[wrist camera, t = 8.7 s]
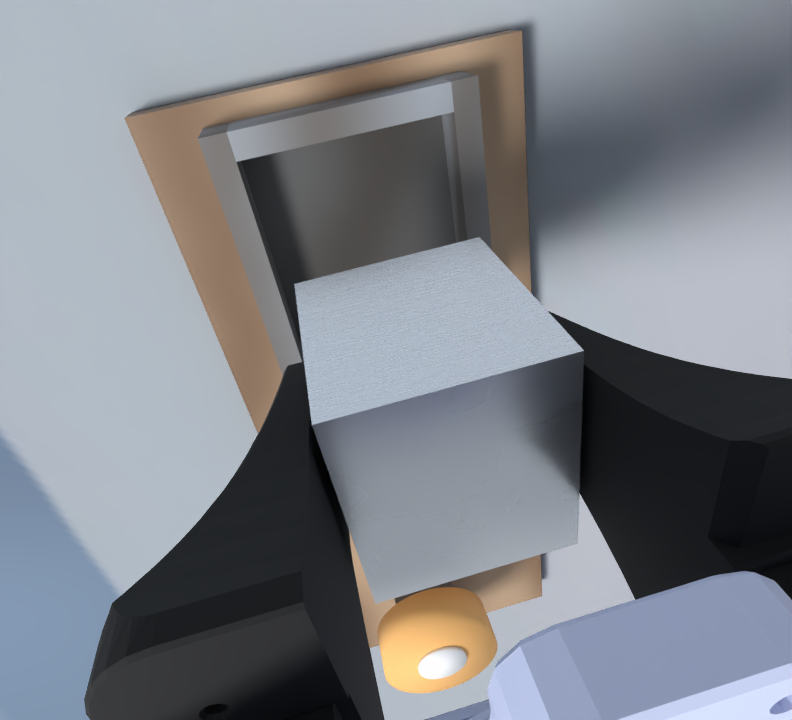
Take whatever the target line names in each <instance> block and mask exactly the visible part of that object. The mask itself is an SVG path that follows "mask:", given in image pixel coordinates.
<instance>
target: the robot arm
mask: <svg viewBox="0 0 792 720" xmlns="http://www.w3.org/2000/svg"><path fill="white" fill-rule="evenodd" d="M548 312H549V311H548ZM549 313H550V314H551V315H552V316H553V317H554V319H555V320H556V321H557V322H558V323H559V324H560V325H561V326H562V327H563V328H564V329H565V331H566V332H567V333H568V334H569V335H570V336H571V337H572V338H573V339H574V340H575V341H576V342H577V344H578V345H579V346H580V347H581V348H582V349H583V350H584V368H583V398H582V428H581V459H580V489H579V493H580V494H581V496H582V498H583V500H584V501H585V503H586V505H587V507H588V509H589V511H590V512H591V514H592V516H593V518H594V520H595V522H596V523H597V525H598V527H599V529H600V531H601V533H602V534H603V536H604V538H605V540H606V542H607V544H608V546H609V548H610V550H611V552H612V554H613V556H614V558H615V559H616V561H617V563H618V565H619V567H620V569H621V571H622V573H623V575H624V577H625V579H626V581H627V583H628V585H629V587H630V589H631V591H632V594H633V596H634V598H635V600H633V601H630V602H627V603H624V604H620V605H617V606H614V607H611V608H607V609H604V610H601V611H598V612H595V613H591V614H588V615H585V616H582V617H578V618H575V619H572V620H569V621H566V622H562V623H559V624H556V625H553V626H551V627H549V628H547V629H545V630H542V631H540V632H538V633H536V634H534V635H532V636H530V637H527V638H525V639H523V640H521V641H520V642H519V643H518V644H517V645H515V646H514V647H513V648H512V649H511V650H510V651H509V652H508V653H507V654H505V655H504V656H503V657H502V658H501V659H500V660H499V661H498V662H497V664H496V666H495V668H494V671H493V674H492V677H491V681H490V684H489V687H488V690H487V691H488V697H489V699H488V700H485V701H482V702H479V703H476V704H473V705H470V706H466V707H463V708H460V709H457V710H454V711H451V712H448V713H444V714H441V715H438V716H435V717H432V718H429V719H426V720H792V379H787V378H779V377H771V376H763V375H755V374H749V373H742V372H736V371H730V370H725V369H720V368H715V367H710V366H705V365H700V364H695V363H691V362H687V361H683V360H679V359H675V358H672V357H668V356H664V355H661V354H657V353H653V352H650V351H647V350H644V349H641V348H638V347H635V346H632V345H629V344H626V343H624V342H621V341H618V340H615V339H612V338H610V337H607V336H605V335H602V334H600V333H597V332H595V331H592V330H590V329H588V328H585V327H583V326H581V325H578V324H576V323H574V322H571V321H569V320H567V319H565V318H563V317H560V316H558V315H556V314H554V313H551V312H549ZM84 700H85V708H86V714H87V716H88V717H89V719H90V720H384V715H383V711H382V706H381V701H380V697H379V692H378V687H377V682H376V677H375V672H374V667H373V663H372V658H371V653H370V648H369V643H368V638H367V633H366V628H365V623H364V618H363V613H362V608H361V603H360V598H359V592H358V587H357V582H356V577H355V571H354V566H353V560H352V552H351V545H350V533H349V528H348V525H347V522H346V520H345V517H344V514H343V511H342V508H341V506H340V503H339V500H338V497H337V494H336V492H335V489H334V486H333V483H332V480H331V477H330V475H329V472H328V469H327V466H326V463H325V461H324V458H323V455H322V452H321V449H320V446H319V444H318V441H317V438H316V435H315V432H314V430H313V427H312V422H311V414H310V406H309V398H308V390H307V382H306V374H305V366H304V361H303V362H299V363H296V364H292V365H288V366H287V368H286V369H285V371H284V374H283V377H282V380H281V383H280V385H279V388H278V391H277V393H276V396H275V398H274V401H273V403H272V405H271V408H270V410H269V412H268V414H267V417H266V419H265V421H264V423H263V425H262V427H261V429H260V431H259V433H258V435H257V437H256V439H255V441H254V442H253V444H252V446H251V448H250V450H249V452H248V454H247V455H246V457H245V459H244V460H243V462H242V464H241V465H240V467H239V468H238V470H237V472H236V473H235V475H234V476H233V478H232V479H231V480H230V482H229V483H228V485H227V486H226V488H225V489H224V490H223V492H222V493H221V494H220V495H219V497H218V498H217V499H216V500H215V502H214V503H213V504H212V505H211V507H210V508H209V509H208V510H207V512H206V513H205V514H204V515H203V516H202V518H201V519H200V520H199V521H198V522H197V523H196V525H195V526H194V527H193V528H192V529H191V530H190V531H189V532H188V533H187V534H186V535H185V537H184V538H183V539H182V540H181V541H180V542H179V543H178V544H177V545H176V546H175V547H174V548H173V549H172V550H171V551H170V552H169V553H168V554H167V555H166V556H165V557H164V558H163V559H162V560H161V561H160V562H159V563H157V564H156V565H155V566H154V567H153V568H152V569H151V570H150V571H149V572H148V573H146V574H145V575H144V576H143V577H142V578H141V579H140V580H138V581H137V582H136V583H135V584H134V585H133V586H132V587H131V588H129V589H128V590H127V591H126V592H125V593H124V594H123V595H122V596H120V597H119V598H118V599H117V600H115V601H114V602H113V603H112V605H111V608H110V611H109V614H108V617H107V620H106V622H105V625H104V628H103V630H102V634H101V637H100V641H99V644H98V648H97V652H96V656H95V660H94V664H93V668H92V672H91V676H90V679H89V683H88V687H87V691H86V695H85V699H84Z"/></svg>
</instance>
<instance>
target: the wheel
mask: <svg viewBox="0 0 792 720" xmlns="http://www.w3.org/2000/svg"><path fill="white" fill-rule="evenodd" d="M377 634H378V640H379V645H380V651H381V656H382V662H383V667H384V673H385V677H386V680H387V681H388V683H389V684H390V685H391V686H393V687H394V688H396V689H398V690H401V691H404V692H410V693H429V692H436V691H441V690H445V689H448V688H451V687H454V686H457V685H459V684H462V683H464V682H466V681H468V680H469V679H471V678H473V677H475V676H476V675H477V674H479V673H480V672H481V671H483V670H484V669H485V668H486V667H487V666H488V665H489V664H490V662H491V661H492V660H493V658H494V657H495V654H496V652H497V641H496V638H495V635H494V633H493V630H492V627H491V624H490V622H489V619H488V616H487V614H486V611H485V608H484V606H483V603H482V601H481V599H480V598H479V597H478V596H477V595H476V594H474V593H473V592H471V591H469V590H466V589H462V588H455V587H442V588H434V589H429V590H425V591H422V592H419V593H416V594H414V595H411V596H409V597H407V598H405V599H403V600H402V601H400V602H399V603H397V604H396V605H394V606H393V607H392V608H391V609H390V610H389V611H388V612H387V613H386V614H385V615H384V616H383V618H382V619H381V621H380V623H379V626H378V630H377Z"/></svg>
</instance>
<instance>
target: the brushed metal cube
mask: <svg viewBox="0 0 792 720" xmlns="http://www.w3.org/2000/svg"><path fill="white" fill-rule="evenodd" d="M294 286H295V294H296V302H297V310H298V318H299V326H300V334H301V342H302V350H303V358H304V366H305V374H306V382H307V390H308V398H309V406H310V414H311V422H312V427H313V430H314V432H315V435H316V438H317V441H318V444H319V446H320V449H321V452H322V455H323V458H324V461H325V463H326V466H327V469H328V472H329V475H330V477H331V480H332V483H333V486H334V489H335V492H336V494H337V497H338V500H339V503H340V506H341V508H342V511H343V514H344V517H345V520H346V522H347V525H348V528H349V531H350V534H351V537H352V539H353V542H354V545H355V548H356V551H357V553H358V556H359V559H360V562H361V565H362V567H363V570H364V573H365V576H366V579H367V582H368V584H369V587H370V590H371V593H372V596H373V598H374V601H375V604H377V603H380V602H383V601H387V600H390V599H393V598H397V597H400V596H404V595H407V594H410V593H414V592H417V591H420V590H424V589H427V588H430V587H434V586H437V585H440V584H444V583H447V582H450V581H454V580H457V579H460V578H464V577H467V576H470V575H474V574H477V573H480V572H484V571H487V570H490V569H494V568H497V567H500V566H504V565H507V564H510V563H514V562H517V561H520V560H524V559H527V558H530V557H534V556H537V555H540V554H544V553H547V552H550V551H554V550H557V549H560V548H564V547H567V546H570V545H574V544H577V543H578V519H579V489H580V459H581V428H582V398H583V368H584V350H583V349H582V348H581V347H580V346H579V345H578V344H577V342H576V341H575V340H574V339H573V338H572V337H571V336H570V335H569V334H568V333H567V332H566V331H565V329H564V328H563V327H562V326H561V325H560V324H559V323H558V322H557V321H556V320H555V319H554V317H553V316H552V315H551V314H550V313H549V312H548V311H547V310H546V309H545V308H544V307H543V306H542V304H541V303H540V302H539V301H538V300H537V299H536V298H535V297H534V296H533V295H532V294H531V293H530V291H529V290H528V289H527V288H526V287H525V286H524V285H523V284H522V283H521V282H520V281H519V279H518V278H517V277H516V276H515V275H514V274H513V273H512V272H511V271H510V270H509V269H508V268H507V266H506V265H505V264H504V263H503V262H502V261H501V260H500V259H499V258H498V257H497V256H496V255H495V253H494V252H493V251H492V250H491V249H490V248H489V247H488V246H487V245H486V244H485V243H484V241H483V240H482V239H481V238H480V237H478V238H474V239H470V240H466V241H462V242H458V243H454V244H450V245H446V246H442V247H438V248H434V249H430V250H426V251H422V252H418V253H414V254H411V255H407V256H403V257H399V258H395V259H391V260H387V261H383V262H379V263H375V264H371V265H367V266H363V267H359V268H355V269H351V270H347V271H343V272H340V273H336V274H332V275H328V276H324V277H320V278H316V279H312V280H308V281H304V282H300V283H296V284H294Z"/></svg>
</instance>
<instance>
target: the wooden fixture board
mask: <svg viewBox="0 0 792 720" xmlns="http://www.w3.org/2000/svg"><path fill="white" fill-rule="evenodd" d="M125 120H126V123H127V125H128V128H129V130H130V132H131V135H132V137H133V139H134V142H135V144H136V146H137V149H138V151H139V154H140V156H141V158H142V161H143V163H144V165H145V168H146V170H147V172H148V175H149V177H150V180H151V182H152V184H153V187H154V189H155V191H156V194H157V196H158V198H159V201H160V203H161V206H162V208H163V210H164V213H165V215H166V217H167V220H168V222H169V224H170V227H171V229H172V232H173V234H174V236H175V239H176V241H177V243H178V246H179V248H180V250H181V253H182V255H183V258H184V260H185V262H186V265H187V267H188V269H189V272H190V274H191V276H192V279H193V281H194V284H195V286H196V288H197V291H198V293H199V295H200V298H201V300H202V302H203V305H204V307H205V310H206V312H207V314H208V317H209V319H210V321H211V324H212V326H213V328H214V331H215V333H216V335H217V338H218V340H219V343H220V345H221V347H222V350H223V352H224V354H225V357H226V359H227V361H228V364H229V366H230V369H231V371H232V373H233V376H234V378H235V380H236V383H237V385H238V387H239V390H240V392H241V395H242V397H243V399H244V402H245V404H246V406H247V409H248V411H249V413H250V416H251V418H252V421H253V423H254V425H255V428H256V430H257V432H258V433H259V431H260V429H261V427H262V425H263V423H264V421H265V419H266V417H267V414H268V412H269V410H270V408H271V405H272V403H273V401H274V398H275V396H276V393H277V391H278V388H279V385H280V383H281V380H282V377H283V374H284V371H285V369H286V368H287V366H288V365H292V364H296V363H299V362H303V361H304V358H303V350H302V342H301V334H300V326H299V318H298V310H297V302H296V294H295V286H294V284H296V283H300V282H304V281H308V280H312V279H316V278H320V277H324V276H328V275H332V274H336V273H340V272H343V271H347V270H351V269H355V268H359V267H363V266H367V265H371V264H375V263H379V262H383V261H387V260H391V259H395V258H399V257H403V256H407V255H411V254H414V253H418V252H422V251H426V250H430V249H434V248H438V247H442V246H446V245H450V244H454V243H458V242H462V241H466V240H470V239H474V238H478V237H480V238H481V239H482V240H483V241H484V243H485V244H486V245H487V246H488V247H489V248H490V249H491V250H492V251H493V252H494V253H495V255H496V256H497V257H498V258H499V259H500V260H501V261H502V262H503V263H504V264H505V265H506V266H507V268H508V269H509V270H510V271H511V272H512V273H513V274H514V275H515V276H516V277H517V278H518V279H519V281H520V282H521V283H522V284H523V285H524V286H525V287H526V288H527V289H528V290H529V291H530V293H531V270H530V242H529V213H528V185H527V157H526V129H525V101H524V72H523V44H522V31H519V30H507V31H502V32H498V33H493V34H488V35H484V36H479V37H475V38H470V39H466V40H461V41H457V42H452V43H447V44H443V45H438V46H434V47H429V48H425V49H420V50H416V51H411V52H406V53H402V54H397V55H393V56H388V57H384V58H379V59H374V60H370V61H365V62H361V63H356V64H352V65H347V66H343V67H338V68H333V69H329V70H324V71H320V72H315V73H311V74H306V75H302V76H297V77H292V78H288V79H283V80H279V81H274V82H270V83H265V84H261V85H256V86H251V87H247V88H242V89H238V90H233V91H229V92H224V93H219V94H215V95H210V96H206V97H201V98H197V99H192V100H188V101H183V102H178V103H174V104H169V105H165V106H160V107H156V108H151V109H147V110H142V111H137V112H133V113H131V114H129V115H128V116H127V117H125ZM349 533H350V531H349ZM350 545H351V552H352V560H353V566H354V571H355V577H356V582H357V587H358V592H359V598H360V603H361V608H362V613H363V618H364V623H365V628H366V633H367V638H368V643H369V648H371V647H374V646H377V645H379V640H378V634H377V630H378V626H379V623H380V621H381V619H382V618H383V616H384V615H385V614H386V613H387V612H388V611H389V610H390V609H391V608H392V607H393V606H394V605H396V604H397V603H399V602H400V601H402V600H403V599H405V598H407V597H409V596H411V595H414V594H416V593H419V592H422V591H425V590H429V589H434V588H442V587H455V588H462V589H466V590H469V591H471V592H473V593H474V594H476V595H477V596H478V597H479V598H480V599H481V601H482V603H483V606H484V608H485V611H486V613H487V612H490V611H494V610H497V609H500V608H504V607H507V606H510V605H514V604H517V603H520V602H523V601H527V600H530V599H533V598H537V597H540V596H542V580H541V554H540V555H537V556H534V557H530V558H527V559H524V560H520V561H517V562H514V563H510V564H507V565H504V566H500V567H497V568H494V569H490V570H487V571H484V572H480V573H477V574H474V575H470V576H467V577H464V578H460V579H457V580H454V581H450V582H447V583H444V584H440V585H437V586H434V587H430V588H427V589H424V590H420V591H417V592H414V593H410V594H407V595H404V596H400V597H397V598H393V599H390V600H387V601H383V602H380V603H377V604H375V601H374V598H373V596H372V593H371V590H370V587H369V584H368V582H367V579H366V576H365V573H364V570H363V567H362V565H361V562H360V559H359V556H358V553H357V551H356V548H355V545H354V542H353V539H352V537H351V534H350Z"/></svg>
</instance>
